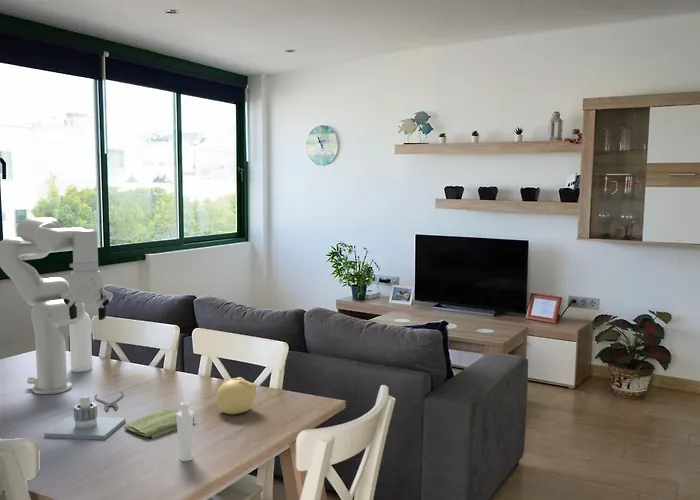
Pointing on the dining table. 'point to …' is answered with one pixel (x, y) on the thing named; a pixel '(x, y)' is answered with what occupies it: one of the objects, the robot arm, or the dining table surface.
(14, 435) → the dining table surface
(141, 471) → the dining table surface
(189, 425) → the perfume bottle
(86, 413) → the ring
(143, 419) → the washcloth
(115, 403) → the pliers
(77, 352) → the bottle
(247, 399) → the pale yellow round lump
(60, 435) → the piston block
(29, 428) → the dining table surface
